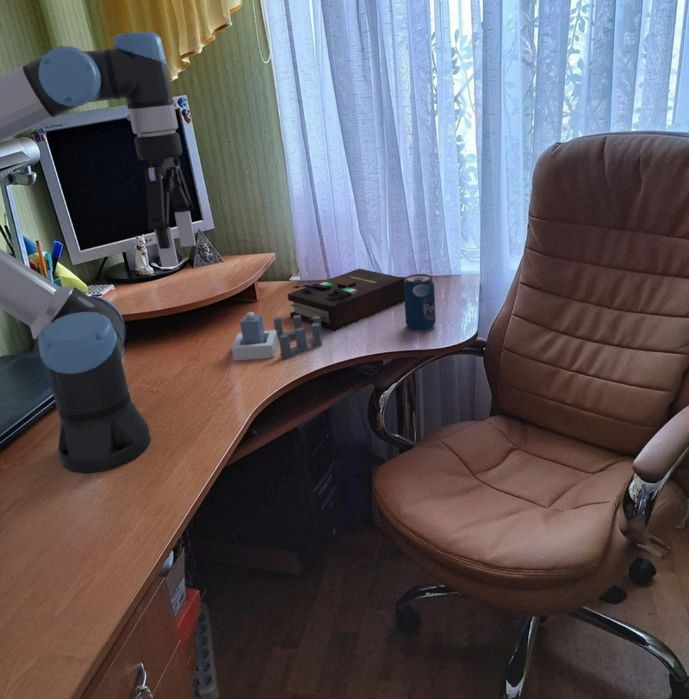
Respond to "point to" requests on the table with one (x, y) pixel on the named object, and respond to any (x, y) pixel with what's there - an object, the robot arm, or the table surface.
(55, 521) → the table surface
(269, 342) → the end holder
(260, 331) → the connector
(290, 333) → the clip
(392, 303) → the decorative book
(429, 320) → the soda can
